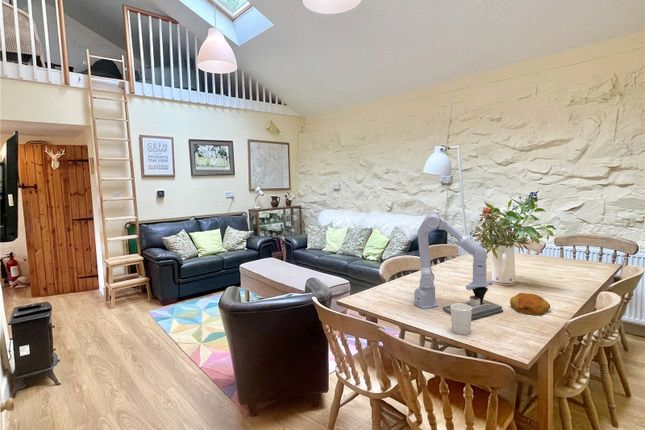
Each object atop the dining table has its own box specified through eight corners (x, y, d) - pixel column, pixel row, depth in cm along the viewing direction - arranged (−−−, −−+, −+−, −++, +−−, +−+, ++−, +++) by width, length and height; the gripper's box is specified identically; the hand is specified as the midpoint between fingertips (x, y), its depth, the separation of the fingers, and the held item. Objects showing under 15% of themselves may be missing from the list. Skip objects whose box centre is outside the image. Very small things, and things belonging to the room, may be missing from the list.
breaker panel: (462, 320, 150) (462, 313, 150) (444, 311, 160) (443, 305, 160) (502, 309, 160) (502, 303, 160) (482, 302, 170) (482, 296, 170)
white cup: (466, 326, 144) (466, 302, 143) (475, 334, 136) (475, 310, 135) (447, 327, 144) (447, 303, 143) (455, 336, 136) (455, 311, 135)
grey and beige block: (476, 308, 158) (476, 298, 158) (469, 305, 162) (469, 296, 161) (480, 307, 159) (480, 297, 159) (473, 304, 163) (473, 295, 162)
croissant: (514, 306, 169) (512, 289, 169) (552, 308, 159) (550, 291, 159) (506, 315, 158) (504, 297, 158) (547, 318, 148) (544, 299, 148)
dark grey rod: (444, 309, 162) (444, 307, 162) (442, 309, 163) (442, 307, 163) (476, 301, 170) (476, 299, 170) (475, 301, 171) (475, 299, 171)
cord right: (469, 321, 149) (469, 319, 148) (467, 320, 149) (467, 318, 149) (503, 312, 157) (503, 309, 157) (501, 311, 158) (501, 309, 158)
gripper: (474, 278, 153) (474, 308, 155) (498, 273, 159) (498, 302, 161) (462, 274, 160) (462, 303, 161) (485, 269, 166) (485, 297, 167)
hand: (479, 302), depth 161 cm, fingers closed
